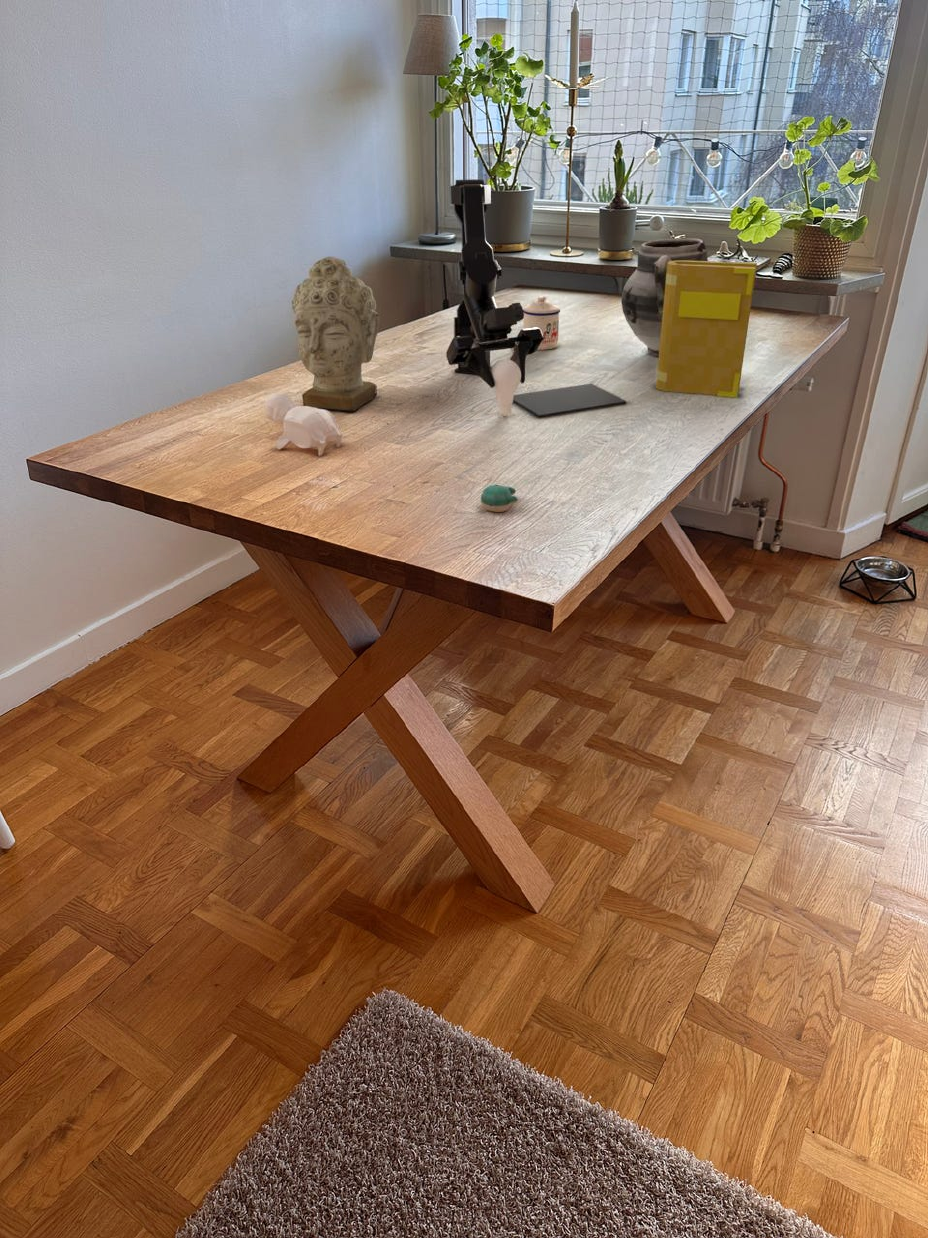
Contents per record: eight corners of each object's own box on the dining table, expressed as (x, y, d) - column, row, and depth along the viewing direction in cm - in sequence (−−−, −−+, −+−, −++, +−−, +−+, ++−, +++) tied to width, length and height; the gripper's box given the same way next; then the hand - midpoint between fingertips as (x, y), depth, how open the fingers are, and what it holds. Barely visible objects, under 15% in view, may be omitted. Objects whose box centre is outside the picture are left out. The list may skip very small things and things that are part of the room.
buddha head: (282, 411, 181) (264, 263, 166) (325, 385, 196) (312, 248, 181) (358, 419, 176) (346, 267, 161) (396, 392, 191) (388, 251, 176)
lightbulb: (510, 422, 172) (511, 365, 167) (483, 417, 175) (483, 361, 169) (526, 413, 177) (527, 357, 171) (499, 409, 180) (499, 353, 174)
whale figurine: (472, 510, 137) (472, 487, 135) (492, 493, 143) (492, 471, 141) (507, 517, 135) (508, 493, 133) (526, 499, 140) (526, 476, 138)
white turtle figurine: (341, 458, 166) (280, 417, 169) (351, 419, 160) (288, 377, 164) (311, 473, 160) (248, 430, 163) (320, 433, 154) (255, 390, 158)
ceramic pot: (701, 372, 200) (715, 252, 187) (602, 363, 208) (609, 247, 195) (725, 342, 222) (739, 233, 209) (635, 335, 230) (643, 229, 217)
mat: (507, 398, 186) (507, 395, 185) (590, 385, 192) (591, 383, 192) (538, 417, 175) (538, 415, 174) (626, 403, 181) (626, 401, 181)
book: (739, 388, 189) (757, 262, 176) (736, 397, 184) (755, 268, 171) (658, 381, 194) (670, 259, 181) (653, 390, 188) (665, 264, 176)
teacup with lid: (546, 352, 217) (548, 302, 211) (515, 347, 222) (515, 298, 216) (571, 341, 225) (573, 293, 219) (540, 337, 230) (542, 289, 224)
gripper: (450, 292, 164) (475, 367, 161) (540, 283, 170) (566, 355, 167) (435, 328, 174) (459, 399, 171) (521, 318, 180) (545, 386, 177)
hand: (508, 384), depth 171 cm, fingers closed on lightbulb, 6 cm apart
